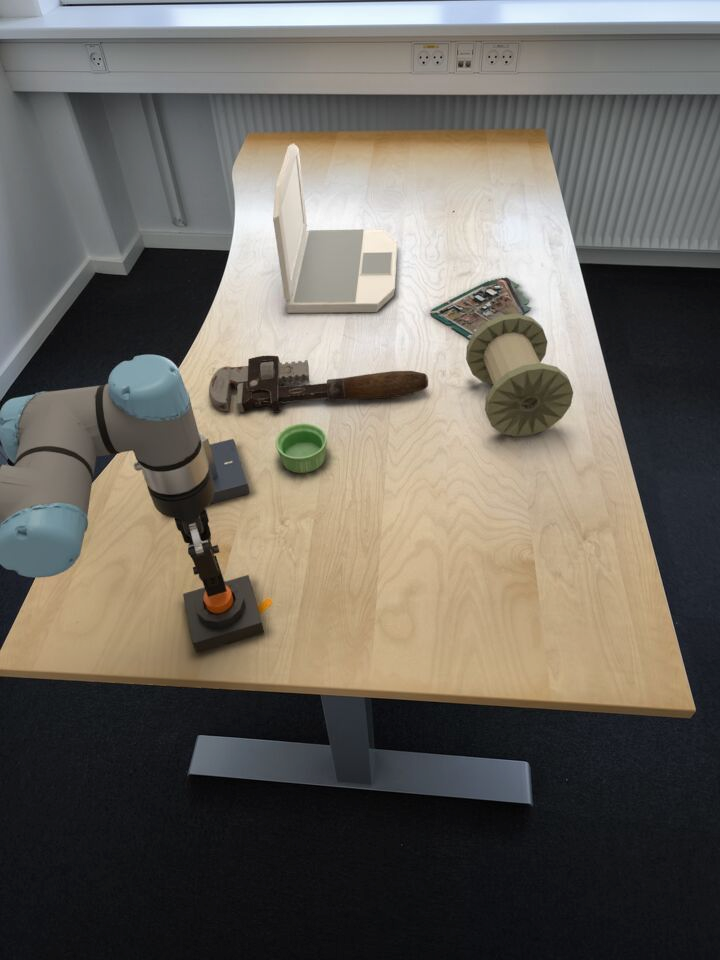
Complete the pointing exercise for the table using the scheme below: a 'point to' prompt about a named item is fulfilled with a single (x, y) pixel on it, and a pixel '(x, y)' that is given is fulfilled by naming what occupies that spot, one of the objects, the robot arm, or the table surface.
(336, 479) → the table surface
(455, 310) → the circuit board
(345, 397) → the pipe wrench
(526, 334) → the spool
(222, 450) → the dark grey dial base
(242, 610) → the orange push button box
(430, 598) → the table surface
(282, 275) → the laptop
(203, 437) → the grey upright slab
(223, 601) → the release button
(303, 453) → the ramekin
